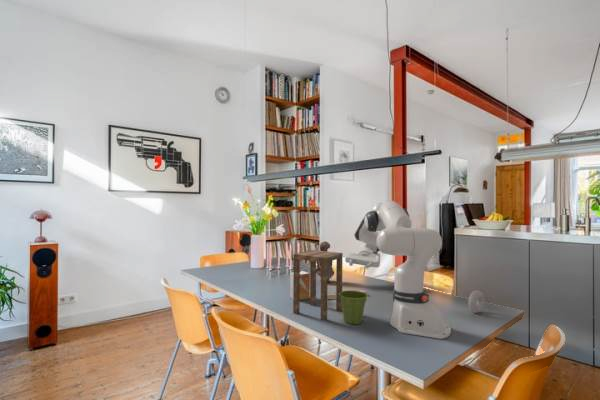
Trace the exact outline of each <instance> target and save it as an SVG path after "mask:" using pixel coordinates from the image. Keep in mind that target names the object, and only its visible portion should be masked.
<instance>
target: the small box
mask: <svg viewBox="0 0 600 400" xmlns="http://www.w3.org/2000/svg"><path fill="white" fill-rule="evenodd" d="M289 274H290V275H289V277H290V280H289V281H290V282H289V283H290V284H289V289H290V290H289V295H290V296H289V298H290V299H292V300H293V280H294V271H293V272H290V273H289ZM307 299H308V300H310V272H306V271H305V270H300V301H302V300H307Z"/></svg>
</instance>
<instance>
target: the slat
mask: <svg viewBox="0 0 600 400" xmlns="http://www.w3.org/2000/svg"><path fill="white" fill-rule="evenodd" d="M359 291H360V292H363V293H366V294H367V295H368V292H367V291H366V290H359ZM328 300H336V292H334V293H327V301H328Z"/></svg>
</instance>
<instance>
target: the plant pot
mask: <svg viewBox="0 0 600 400" xmlns="http://www.w3.org/2000/svg"><path fill="white" fill-rule="evenodd" d="M360 291H361V290H342V292H340V293H339V295H340V298H341V302H342V315H343V316H342V317H343V322H344V323H346V324H349V325H352V324H354V325H360V324H361V323H362V321H363V317H364V316H363V315H364V311H365V306H366V305H365V304H366V302H367V298H368V297H369V295H368V293H367V294H366V293H363V292H360Z"/></svg>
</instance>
